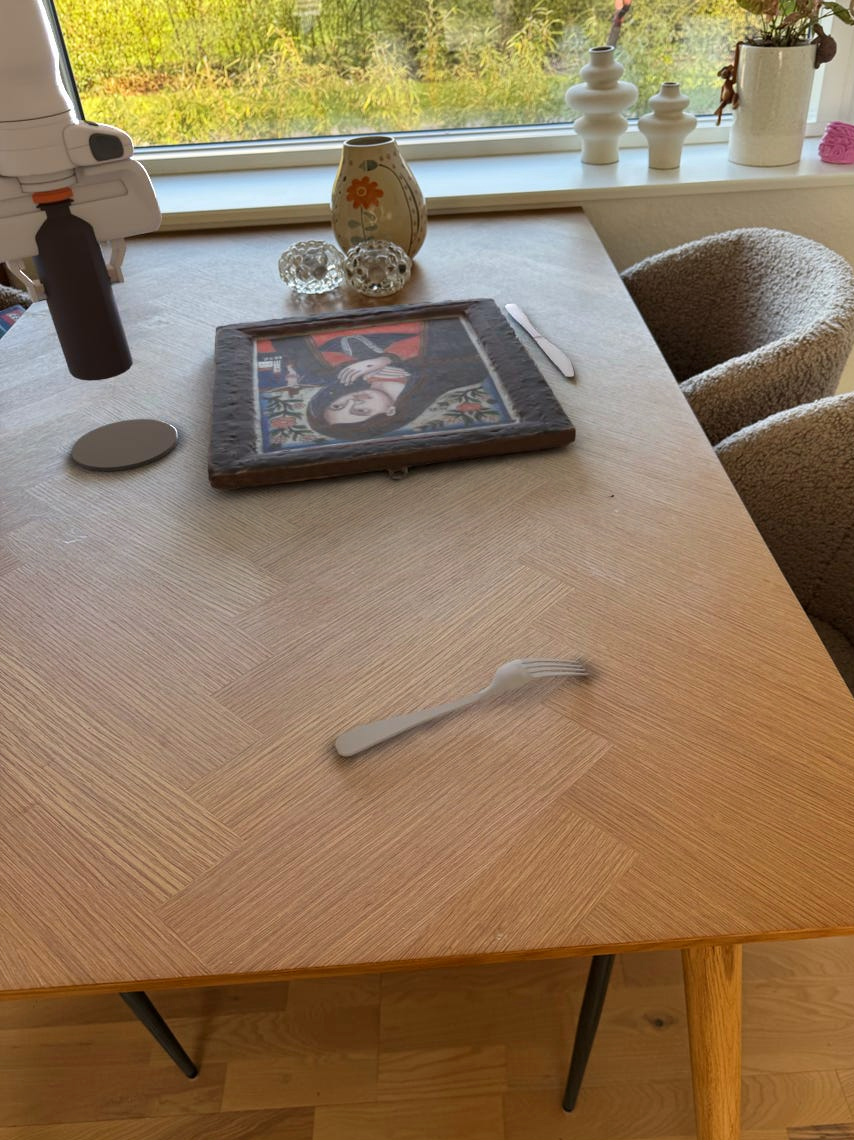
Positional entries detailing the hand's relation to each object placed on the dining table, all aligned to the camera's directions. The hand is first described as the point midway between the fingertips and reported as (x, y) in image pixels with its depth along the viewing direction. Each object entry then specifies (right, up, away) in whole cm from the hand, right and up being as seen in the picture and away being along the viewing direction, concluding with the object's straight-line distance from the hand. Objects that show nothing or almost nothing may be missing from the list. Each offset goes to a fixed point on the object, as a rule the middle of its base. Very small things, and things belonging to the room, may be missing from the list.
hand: (78, 291), depth 100 cm
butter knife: (+50, +4, +31) cm, 59 cm away
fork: (+41, -42, -26) cm, 64 cm away
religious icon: (+29, -6, +20) cm, 36 cm away
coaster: (+1, -14, +11) cm, 18 cm away
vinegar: (0, -7, +5) cm, 9 cm away
